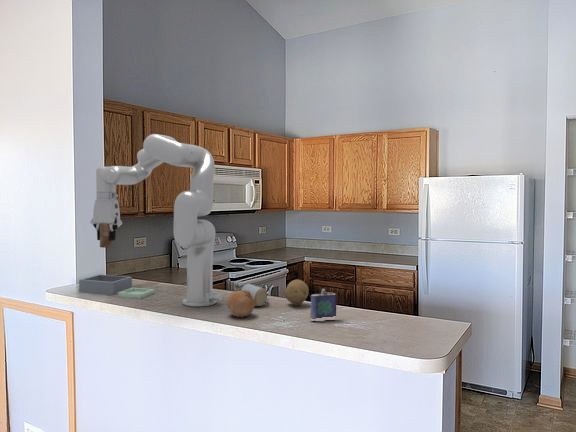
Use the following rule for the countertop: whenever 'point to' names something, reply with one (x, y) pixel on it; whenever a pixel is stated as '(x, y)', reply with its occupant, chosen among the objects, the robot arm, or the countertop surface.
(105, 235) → the walnut cylinder
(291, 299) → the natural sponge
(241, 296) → the onion
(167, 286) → the countertop surface
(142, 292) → the tray
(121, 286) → the deep bin
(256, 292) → the ceramic mug
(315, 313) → the flask
